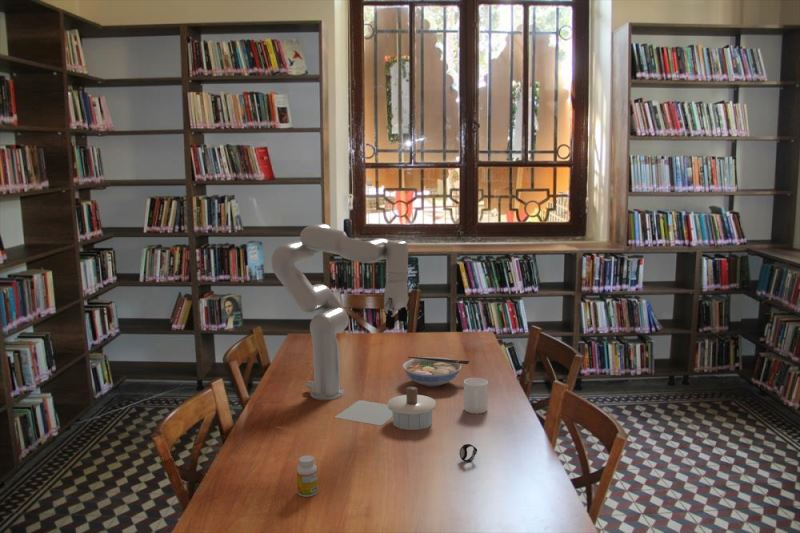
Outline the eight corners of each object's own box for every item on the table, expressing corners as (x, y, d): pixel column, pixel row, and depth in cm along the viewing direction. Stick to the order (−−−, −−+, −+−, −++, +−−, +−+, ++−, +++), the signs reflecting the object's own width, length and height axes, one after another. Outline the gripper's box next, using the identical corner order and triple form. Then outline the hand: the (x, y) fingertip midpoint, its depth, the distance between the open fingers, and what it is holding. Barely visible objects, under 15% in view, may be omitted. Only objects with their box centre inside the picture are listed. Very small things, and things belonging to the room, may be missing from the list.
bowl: (386, 426, 232) (385, 409, 231) (402, 413, 244) (402, 396, 242) (422, 433, 226) (422, 415, 225) (437, 419, 238) (437, 402, 237)
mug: (487, 418, 238) (487, 389, 236) (462, 417, 239) (462, 388, 237) (487, 405, 250) (487, 378, 248) (464, 405, 251) (464, 377, 249)
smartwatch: (459, 458, 208) (459, 442, 207) (476, 458, 208) (476, 442, 207) (460, 464, 204) (460, 448, 203) (477, 464, 204) (478, 448, 203)
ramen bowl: (391, 389, 268) (390, 368, 266) (412, 371, 289) (412, 352, 287) (453, 397, 258) (453, 376, 257) (471, 378, 279) (471, 358, 278)
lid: (379, 410, 230) (379, 392, 229) (400, 394, 244) (399, 378, 243) (424, 417, 224) (424, 399, 223) (443, 401, 238) (443, 384, 237)
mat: (334, 418, 240) (334, 417, 240) (359, 401, 256) (359, 400, 256) (381, 426, 232) (381, 425, 232) (404, 408, 248) (404, 407, 248)
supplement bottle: (298, 488, 191) (296, 454, 189) (318, 487, 191) (317, 453, 190) (296, 498, 186) (295, 463, 184) (317, 496, 186) (316, 462, 184)
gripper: (398, 271, 253) (398, 317, 256) (375, 279, 238) (375, 328, 241) (417, 273, 250) (416, 320, 253) (395, 281, 234) (395, 331, 237)
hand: (396, 324), depth 247 cm, fingers open, 9 cm apart
